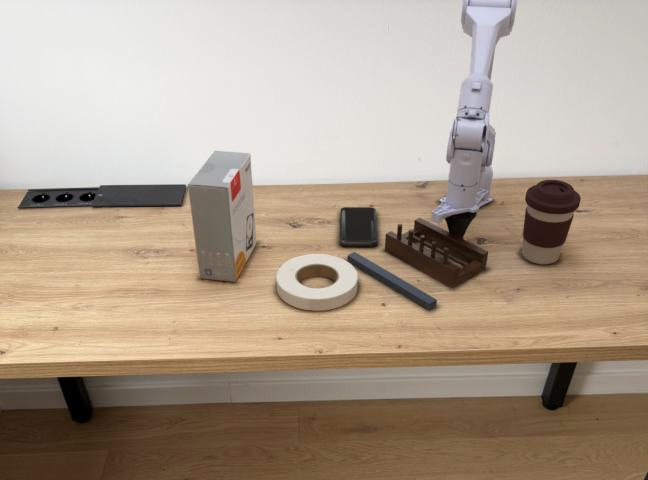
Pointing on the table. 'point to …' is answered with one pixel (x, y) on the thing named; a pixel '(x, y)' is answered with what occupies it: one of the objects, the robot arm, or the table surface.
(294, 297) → the tape roll
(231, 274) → the hard drive box
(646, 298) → the table surface
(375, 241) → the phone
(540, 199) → the coffee cup
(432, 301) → the rail
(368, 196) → the table surface
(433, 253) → the rack
